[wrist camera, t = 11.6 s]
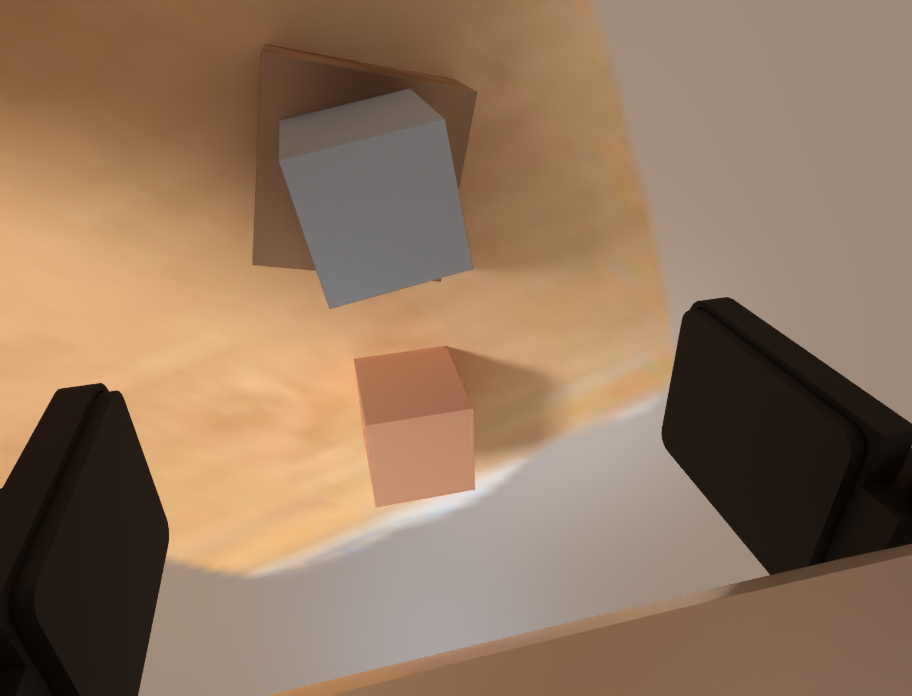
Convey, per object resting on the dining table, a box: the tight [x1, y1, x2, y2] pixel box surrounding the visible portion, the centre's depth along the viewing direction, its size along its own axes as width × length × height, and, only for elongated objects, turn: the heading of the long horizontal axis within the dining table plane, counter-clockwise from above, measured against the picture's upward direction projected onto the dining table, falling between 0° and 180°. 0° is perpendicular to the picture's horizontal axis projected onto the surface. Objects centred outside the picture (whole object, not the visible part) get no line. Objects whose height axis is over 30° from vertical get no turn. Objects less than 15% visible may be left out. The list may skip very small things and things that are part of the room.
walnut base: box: [253, 45, 477, 282], centre depth 27 cm, size 8×8×4 cm
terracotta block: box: [354, 346, 475, 507], centre depth 32 cm, size 5×5×6 cm
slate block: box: [279, 89, 473, 309], centre depth 22 cm, size 5×5×6 cm
